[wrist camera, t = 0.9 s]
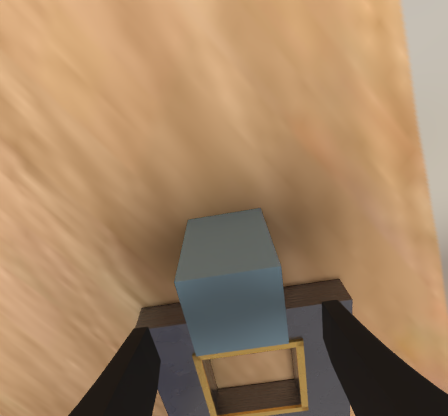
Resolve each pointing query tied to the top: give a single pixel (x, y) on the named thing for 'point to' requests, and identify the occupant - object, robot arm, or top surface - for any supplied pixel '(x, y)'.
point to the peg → (231, 284)
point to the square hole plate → (259, 393)
